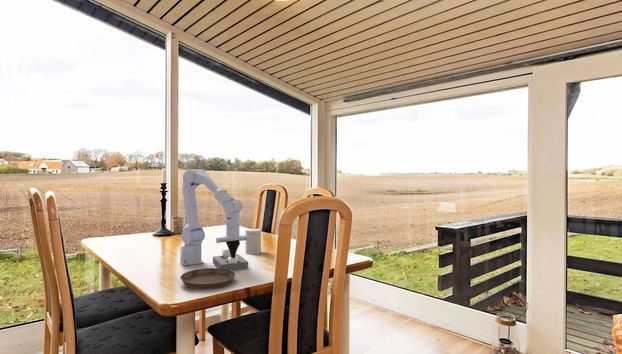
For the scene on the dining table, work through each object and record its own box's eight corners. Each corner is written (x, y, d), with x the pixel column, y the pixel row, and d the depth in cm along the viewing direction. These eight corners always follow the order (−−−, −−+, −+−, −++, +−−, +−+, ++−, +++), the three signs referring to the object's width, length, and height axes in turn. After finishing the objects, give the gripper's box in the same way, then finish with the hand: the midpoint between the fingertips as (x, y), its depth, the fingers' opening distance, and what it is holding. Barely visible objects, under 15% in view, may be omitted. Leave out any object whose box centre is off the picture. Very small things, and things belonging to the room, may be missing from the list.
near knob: (229, 268, 163) (229, 259, 163) (226, 265, 167) (226, 257, 167) (239, 267, 165) (239, 258, 165) (236, 264, 169) (236, 256, 169)
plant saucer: (244, 277, 152) (244, 269, 152) (218, 294, 132) (217, 285, 132) (200, 273, 158) (200, 265, 158) (168, 288, 138) (168, 279, 138)
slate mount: (221, 271, 160) (221, 264, 160) (212, 263, 175) (212, 256, 175) (248, 268, 166) (248, 261, 165) (237, 260, 180) (237, 254, 180)
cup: (253, 254, 191) (253, 231, 191) (242, 252, 196) (242, 230, 196) (264, 252, 198) (264, 229, 198) (253, 250, 203) (253, 228, 202)
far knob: (223, 259, 172) (223, 250, 171) (221, 257, 175) (221, 248, 175) (233, 258, 174) (233, 249, 173) (230, 256, 177) (230, 247, 177)
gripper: (218, 229, 158) (218, 261, 159) (251, 227, 165) (251, 257, 165) (214, 227, 165) (215, 257, 165) (246, 225, 171) (246, 254, 172)
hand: (232, 257), depth 166 cm, fingers closed, pressing on near knob
